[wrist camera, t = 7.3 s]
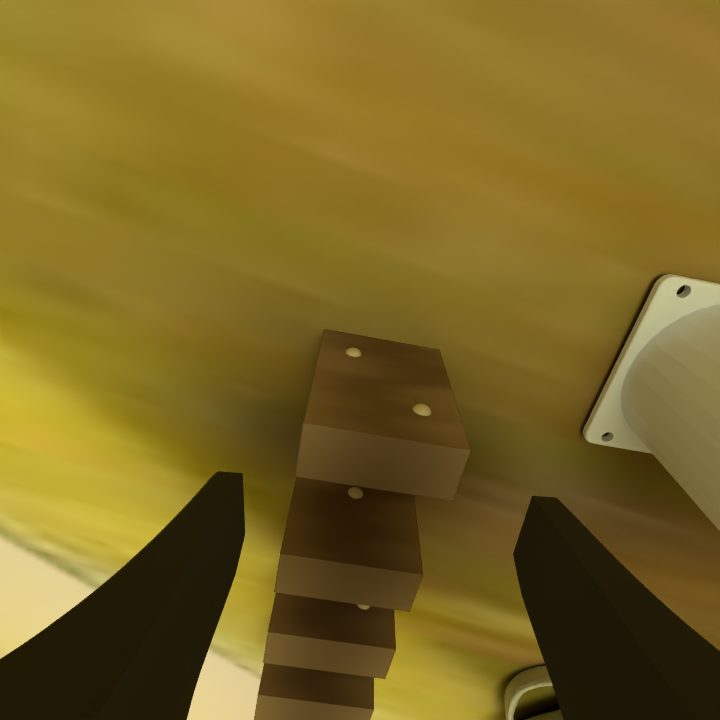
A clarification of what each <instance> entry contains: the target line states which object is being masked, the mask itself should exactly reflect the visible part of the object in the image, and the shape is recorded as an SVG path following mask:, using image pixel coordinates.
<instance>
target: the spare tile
mask: <svg viewBox="0 0 720 720" xmlns="http://www.w3.org/2000/svg"><path fill="white" fill-rule="evenodd" d="M470 452H471V449H470V446H469V443H468V440H467V437H466V433H465V430H464V427H463V424H462V421H461V417H460V414H459V411H458V408H457V405H456V401H455V398H454V395H453V392H452V389H451V385H450V382H449V379H448V376H447V373H446V369H445V366H444V363H443V360H442V357H441V353H440V350H438V349H433V348H427V347H422V346H416V345H410V344H405V343H399V342H393V341H388V340H382V339H377V338H371V337H365V336H360V335H354V334H348V333H343V332H337V331H332V330H326V329H325V330H324V334H323V339H322V343H321V347H320V352H319V356H318V361H317V365H316V369H315V374H314V378H313V383H312V387H311V391H310V396H309V400H308V404H307V409H306V413H305V418H304V422H303V428H302V434H301V441H300V447H299V454H298V460H297V466H296V473H295V476H296V477H302V478H309V479H315V480H322V481H328V482H334V483H341V484H347V485H354V486H360V487H366V488H373V489H379V490H385V491H392V492H398V493H405V494H411V495H417V496H424V497H430V498H437V499H443V500H449V501H453V499H454V496H455V493H456V490H457V488H458V485H459V482H460V479H461V477H462V474H463V471H464V468H465V466H466V463H467V460H468V457H469V455H470Z"/></svg>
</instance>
